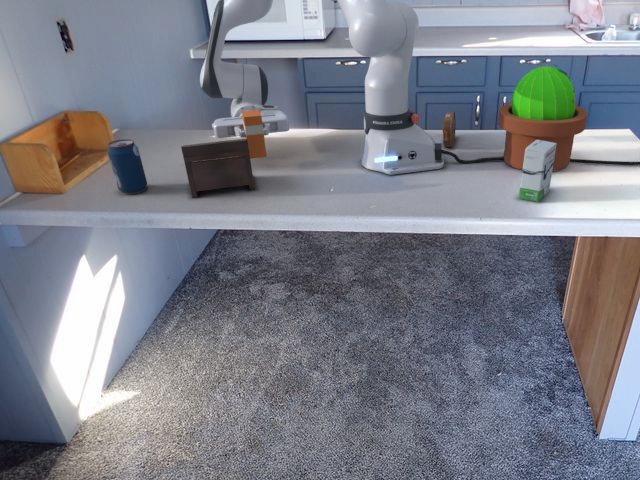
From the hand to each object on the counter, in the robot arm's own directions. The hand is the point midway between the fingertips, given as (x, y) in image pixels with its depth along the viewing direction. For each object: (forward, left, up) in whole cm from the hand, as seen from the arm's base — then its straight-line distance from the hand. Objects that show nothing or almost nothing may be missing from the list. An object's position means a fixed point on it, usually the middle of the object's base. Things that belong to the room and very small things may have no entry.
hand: (254, 133), depth 144 cm
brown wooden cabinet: (+8, +13, -9) cm, 18 cm away
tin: (-55, -13, -10) cm, 57 cm away
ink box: (-67, +29, -10) cm, 73 cm away
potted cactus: (-75, +7, -10) cm, 76 cm away
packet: (0, -1, -6) cm, 6 cm away
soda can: (+30, +12, -10) cm, 34 cm away
